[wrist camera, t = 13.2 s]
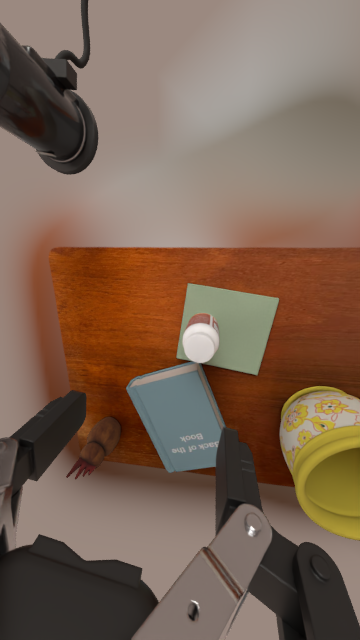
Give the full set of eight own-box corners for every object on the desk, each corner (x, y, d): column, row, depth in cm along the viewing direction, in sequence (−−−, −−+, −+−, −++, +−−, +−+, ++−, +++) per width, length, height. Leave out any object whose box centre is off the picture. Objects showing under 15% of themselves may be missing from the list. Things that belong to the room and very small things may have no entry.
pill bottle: (182, 331, 44) (171, 354, 33) (197, 306, 42) (191, 322, 31) (208, 347, 44) (205, 374, 33) (225, 322, 42) (227, 343, 31)
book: (232, 443, 50) (234, 463, 45) (169, 453, 54) (165, 473, 49) (199, 359, 45) (197, 371, 40) (133, 377, 49) (124, 390, 44)
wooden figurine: (96, 419, 55) (53, 475, 40) (111, 408, 53) (72, 463, 39) (113, 437, 55) (78, 499, 41) (129, 428, 54) (97, 489, 39)
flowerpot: (294, 360, 42) (340, 420, 27) (385, 395, 41) (488, 477, 25) (255, 428, 48) (274, 510, 32) (334, 460, 47) (393, 560, 31)
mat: (188, 283, 41) (187, 283, 41) (278, 298, 40) (279, 298, 39) (176, 356, 46) (176, 358, 46) (256, 373, 44) (257, 375, 44)
